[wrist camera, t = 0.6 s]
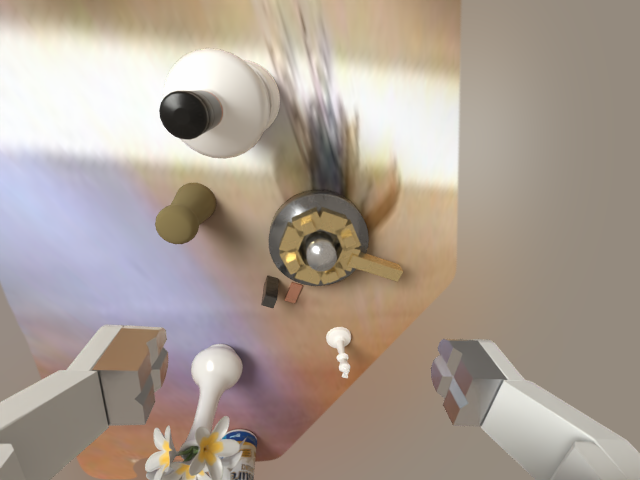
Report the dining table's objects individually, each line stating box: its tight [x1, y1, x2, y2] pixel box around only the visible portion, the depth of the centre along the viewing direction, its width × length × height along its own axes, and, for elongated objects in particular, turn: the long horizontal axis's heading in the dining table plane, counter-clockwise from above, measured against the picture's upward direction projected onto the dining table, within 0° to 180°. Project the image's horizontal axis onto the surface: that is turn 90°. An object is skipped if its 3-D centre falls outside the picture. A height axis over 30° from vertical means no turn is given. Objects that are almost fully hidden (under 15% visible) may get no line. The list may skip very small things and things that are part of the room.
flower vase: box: [145, 344, 246, 480], centre depth 53 cm, size 13×18×25 cm
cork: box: [155, 183, 216, 244], centre depth 46 cm, size 6×6×11 cm
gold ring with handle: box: [279, 207, 403, 285], centre depth 51 cm, size 20×12×3 cm, turn 68°
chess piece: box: [326, 327, 351, 378], centre depth 60 cm, size 5×5×10 cm
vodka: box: [159, 48, 280, 158], centre depth 32 cm, size 9×9×30 cm
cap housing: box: [261, 190, 369, 308], centre depth 52 cm, size 22×16×8 cm
